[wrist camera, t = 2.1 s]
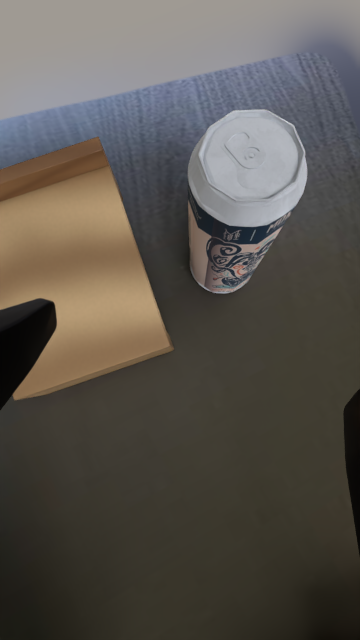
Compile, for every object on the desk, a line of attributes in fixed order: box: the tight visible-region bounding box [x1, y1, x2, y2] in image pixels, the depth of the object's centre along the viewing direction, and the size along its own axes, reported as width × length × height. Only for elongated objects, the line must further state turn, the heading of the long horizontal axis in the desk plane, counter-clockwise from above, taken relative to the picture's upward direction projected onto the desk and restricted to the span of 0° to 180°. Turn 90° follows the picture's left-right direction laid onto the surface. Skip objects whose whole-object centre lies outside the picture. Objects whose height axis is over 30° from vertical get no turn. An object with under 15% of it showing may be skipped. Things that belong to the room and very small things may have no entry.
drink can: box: [188, 109, 307, 293], centre depth 17 cm, size 5×5×12 cm
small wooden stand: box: [0, 137, 174, 400], centre depth 20 cm, size 14×10×6 cm
